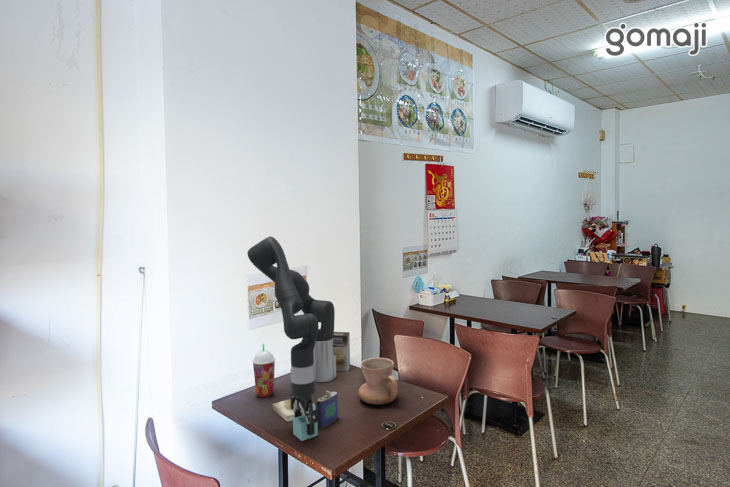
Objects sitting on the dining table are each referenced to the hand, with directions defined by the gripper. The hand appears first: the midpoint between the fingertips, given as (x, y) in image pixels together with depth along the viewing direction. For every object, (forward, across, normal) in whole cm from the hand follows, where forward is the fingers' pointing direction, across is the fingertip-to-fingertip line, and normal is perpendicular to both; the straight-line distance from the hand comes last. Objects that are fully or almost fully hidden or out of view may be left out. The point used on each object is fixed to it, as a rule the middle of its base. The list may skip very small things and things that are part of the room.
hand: (304, 429), depth 132 cm
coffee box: (+2, +43, -40) cm, 58 cm away
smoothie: (+2, +37, -2) cm, 37 cm away
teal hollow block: (+2, 0, 0) cm, 2 cm away
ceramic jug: (+2, +5, -33) cm, 34 cm away
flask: (+2, +2, -10) cm, 10 cm away
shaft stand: (+2, +17, -5) cm, 18 cm away
